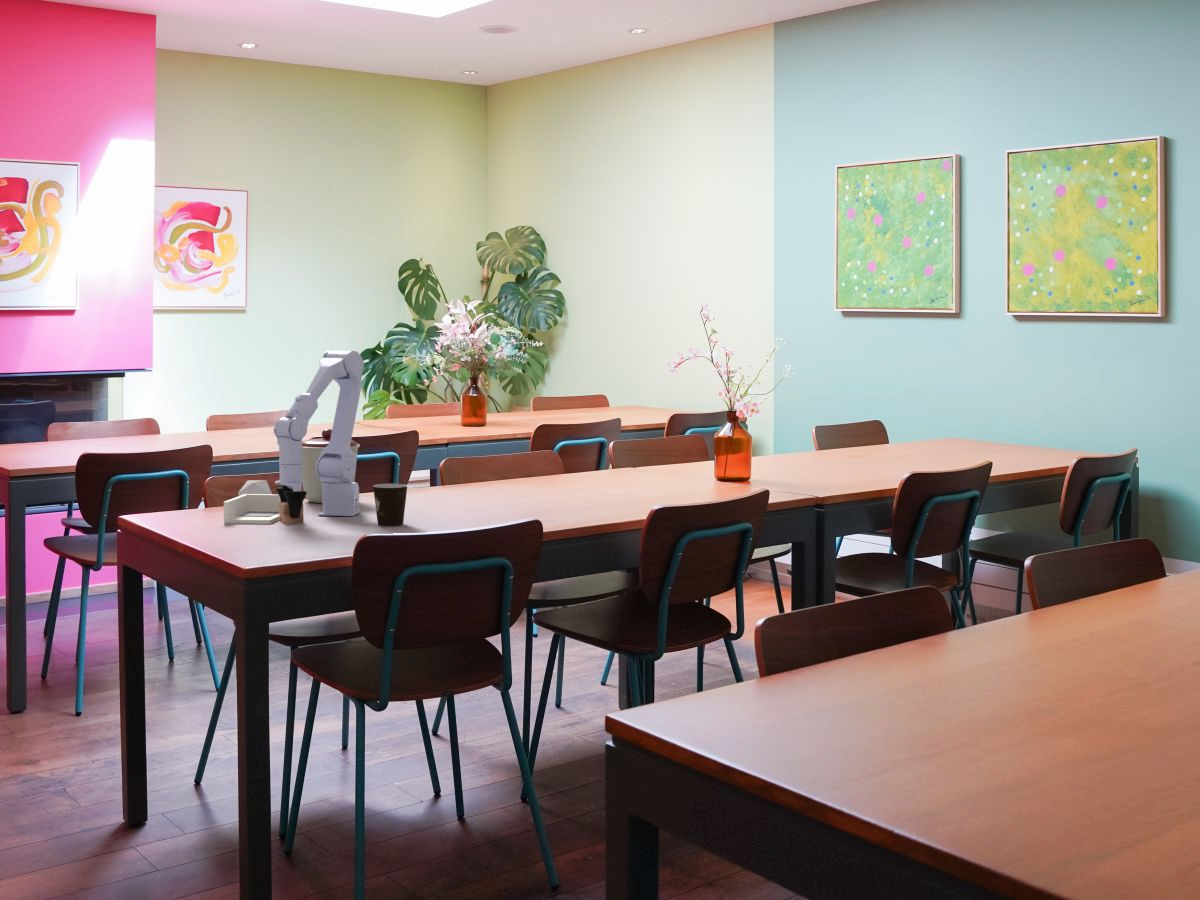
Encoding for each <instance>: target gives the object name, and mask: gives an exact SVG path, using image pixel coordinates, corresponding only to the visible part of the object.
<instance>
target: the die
mask: <svg viewBox="0 0 1200 900" xmlns="http://www.w3.org/2000/svg"><path fill="white" fill-rule="evenodd" d="M237 493H238V496H241V495H243V494H273V493H272V490H271V488H270V486H269V482H268V480H264V479H263V480H255V479H254V480H252V479H250V480H249V479H248V480H246V482H245V483H244V484H243V485H242V487H241V488H240V490H239V491H238V492H237Z"/></svg>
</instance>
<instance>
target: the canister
mask: <svg viewBox="0 0 1200 900" xmlns="http://www.w3.org/2000/svg"><path fill="white" fill-rule="evenodd" d="M331 433H332V428H324V429H323V430H322V432H321V436H322V438H321V437H319V438H310V439H305V440H302V480H303V484H302V491H306V492H307V494H306V496H305V499H306V500H307V501H308V502H309V503H313V502H314V503H313V504H323V487H322V482H323V481H320V477H319V476H318V475H317V472H316V463H317V461H318V459H319V458H320V455H321V451H322V450H323V449H324V448H325V447H326V446H328V445H329V443H330V438H331ZM360 447H361V445H360V443H357V441H355V440H353V439H351V444H350V449H351V450H352V451H353V452H354V453H355V455H356V460H355V464H356V465H357V460H358V459H357V458H358V450H359V449H358V448H360ZM355 480H356V474H355V475H354V477H353V478H352V481H351V482H355Z"/></svg>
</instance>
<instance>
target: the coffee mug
mask: <svg viewBox="0 0 1200 900" xmlns="http://www.w3.org/2000/svg"><path fill="white" fill-rule="evenodd" d="M372 486H373V495H374V496H373V497H374V503H375V504H374V505H375V512H376V521H377V525H378V526H379V527H401V526H403V525H404V521H405V520H404V519H405V518H404V517H405V508H406V500H407V493H408V492H407V491H408V485H407V484H402V483H381V484H379V483H378V484H374V485H372Z"/></svg>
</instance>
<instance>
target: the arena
mask: <svg viewBox="0 0 1200 900" xmlns="http://www.w3.org/2000/svg"><path fill="white" fill-rule="evenodd" d="M279 502H281V500H280V497H279V494H273V493H272V494H243V495H241V496H239V495H238V496H236V497H233V498H231V499H228V500H225V501H223V523H224V524H242V525H243V524H245V525H246V524H249V525H253V524H254V525H271V524H273V523H275V522H278V521H280V507H279Z"/></svg>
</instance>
